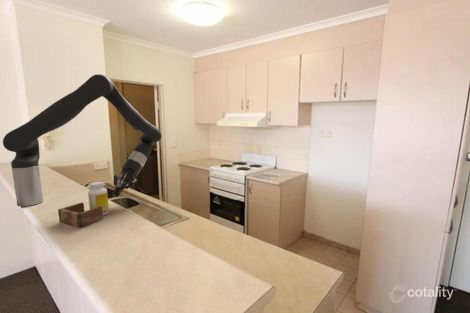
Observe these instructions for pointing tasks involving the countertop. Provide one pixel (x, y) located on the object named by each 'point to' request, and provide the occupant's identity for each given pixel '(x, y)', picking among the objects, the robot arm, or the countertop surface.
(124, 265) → the countertop surface
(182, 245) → the countertop surface
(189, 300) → the countertop surface
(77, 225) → the walnut bay
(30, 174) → the robot arm
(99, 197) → the supplement bottle
